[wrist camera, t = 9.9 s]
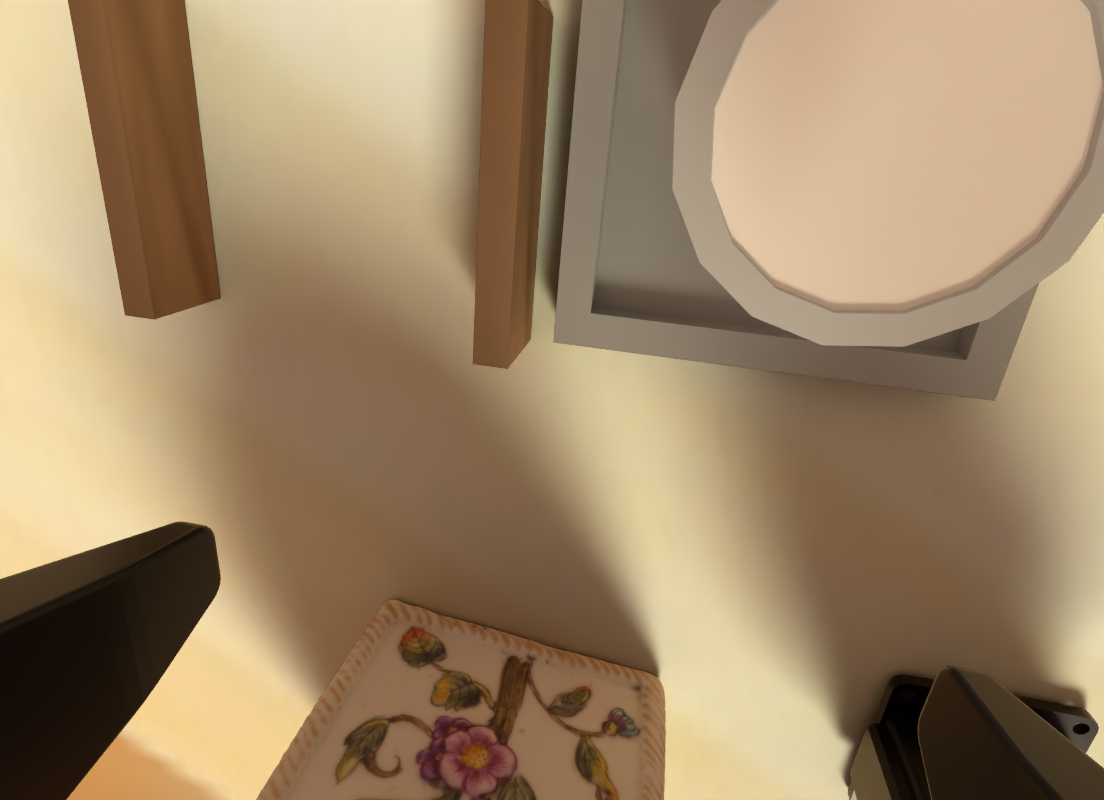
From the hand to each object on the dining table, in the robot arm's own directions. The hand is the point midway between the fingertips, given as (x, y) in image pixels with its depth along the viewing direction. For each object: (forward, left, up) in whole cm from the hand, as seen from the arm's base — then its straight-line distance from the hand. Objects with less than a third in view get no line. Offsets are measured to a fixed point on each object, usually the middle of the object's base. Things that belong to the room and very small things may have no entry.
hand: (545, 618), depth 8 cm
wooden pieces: (+9, -4, -13) cm, 16 cm away
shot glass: (-4, -6, -12) cm, 14 cm away
